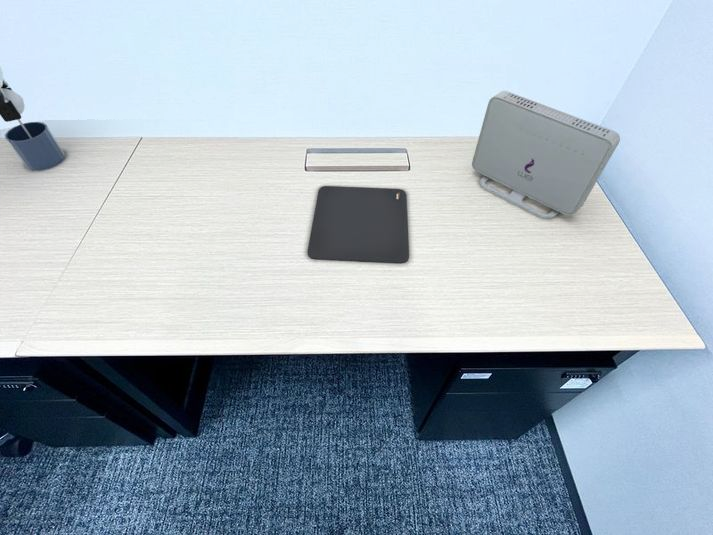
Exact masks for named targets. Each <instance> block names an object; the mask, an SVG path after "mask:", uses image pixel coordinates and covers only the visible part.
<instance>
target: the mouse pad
mask: <svg viewBox="0 0 713 535" xmlns="http://www.w3.org/2000/svg"><path fill="white" fill-rule="evenodd" d="M313 213H314V214H313V219H312V224H311V228H310V229H311V230H310V235H309V241H308V246H307V255H308V257H309V258H310V259H312V260H323V261H339V262H340V261H345V262H364V263H384V264H385V263H386V264H405V263H407V262H408V261H409V257H410V252H409V251H410V249H409V248H410V246H409V226H408V225H409V224H408V221H409V220H408V202H407V192H406V191H405V190H404V189H401V188H388V187H387V188H385V187H365V186H363V187H362V186H338V185H324V186H320V187H319V189H318V191H317V196H316V202H315V206H314V212H313Z"/></svg>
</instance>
